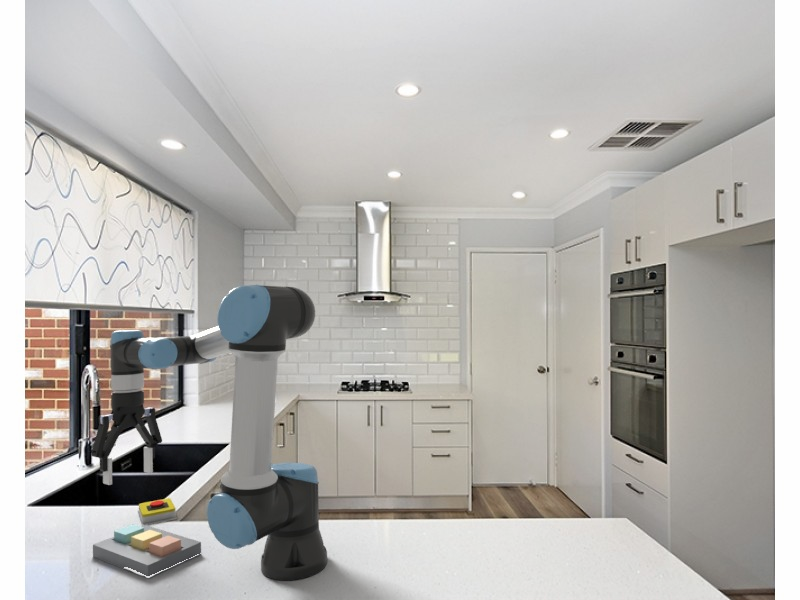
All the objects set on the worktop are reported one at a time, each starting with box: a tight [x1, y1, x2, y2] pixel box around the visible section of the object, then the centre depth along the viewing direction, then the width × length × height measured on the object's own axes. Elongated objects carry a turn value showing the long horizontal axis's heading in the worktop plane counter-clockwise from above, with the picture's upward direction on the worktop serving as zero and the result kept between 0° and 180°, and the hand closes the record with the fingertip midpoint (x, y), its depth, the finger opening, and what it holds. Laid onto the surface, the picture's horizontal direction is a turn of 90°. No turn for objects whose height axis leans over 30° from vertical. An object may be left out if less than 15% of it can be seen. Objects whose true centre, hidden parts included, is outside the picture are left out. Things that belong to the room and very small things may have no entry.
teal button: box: [113, 524, 144, 544], centre depth 136 cm, size 5×5×3 cm
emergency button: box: [137, 497, 178, 526], centre depth 160 cm, size 9×4×15 cm
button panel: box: [92, 525, 202, 576], centre depth 132 cm, size 23×14×3 cm, turn 58°
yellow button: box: [131, 530, 162, 551], centre depth 132 cm, size 5×5×3 cm
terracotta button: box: [149, 536, 181, 557], centre depth 128 cm, size 5×5×3 cm
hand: (128, 477), depth 137 cm, fingers open, 10 cm apart
